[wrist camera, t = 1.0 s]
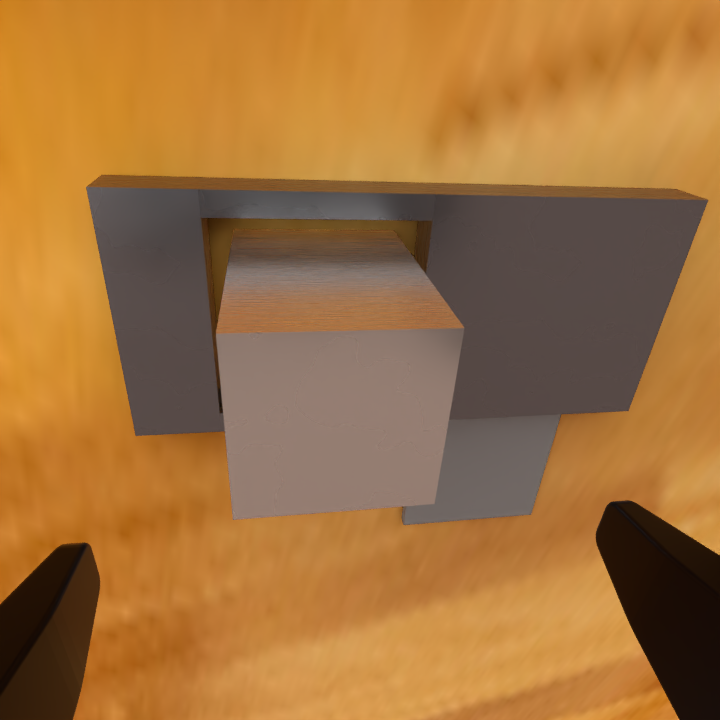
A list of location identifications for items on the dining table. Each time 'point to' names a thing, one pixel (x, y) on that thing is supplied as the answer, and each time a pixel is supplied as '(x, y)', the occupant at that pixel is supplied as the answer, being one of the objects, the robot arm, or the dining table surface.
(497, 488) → the pad
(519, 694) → the dining table surface
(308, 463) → the brushed metal block
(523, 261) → the plate with rectangular hole
